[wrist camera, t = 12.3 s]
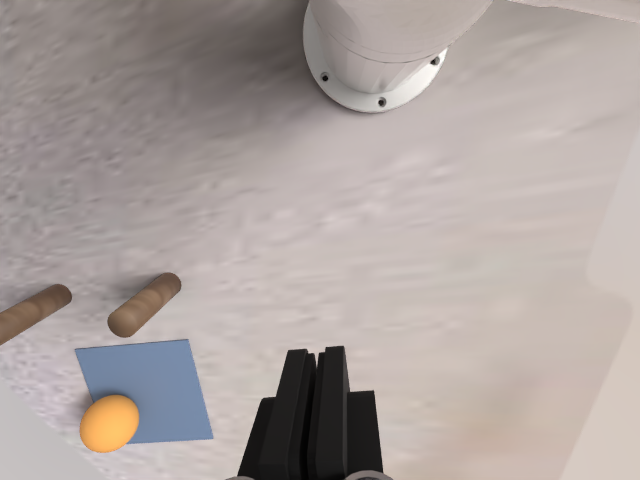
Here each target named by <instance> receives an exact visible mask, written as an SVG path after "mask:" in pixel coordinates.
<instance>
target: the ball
mask: <svg viewBox="0 0 640 480" xmlns="http://www.w3.org/2000/svg"><path fill="white" fill-rule="evenodd" d="M138 424H139V411H138V408H137V406H136V404H135V403H134V402H133V401H132V400H131V399H129V398H128V397H125V396H122V395H110V396H106V397H103V398H101V399H99V400H98V401H96V402H95V403H93V404H92V405H91V406H90V407H89V408H88V409H87V411H86V412H85V414H84V416H83V418H82V420H81V423H80V437H81V440H82V442H83V443H84V445H85V446H86V447H87V448H89V449H90V450H92V451H95V452H100V453H106V452H111V451H114V450H117V449H119V448H121V447H122V446H124V445H125V444H126V443H127V442H128V441H129V440H130V439H131V438H132V437H133V435H134V434H135V432H136V430H137V427H138Z"/></svg>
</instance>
